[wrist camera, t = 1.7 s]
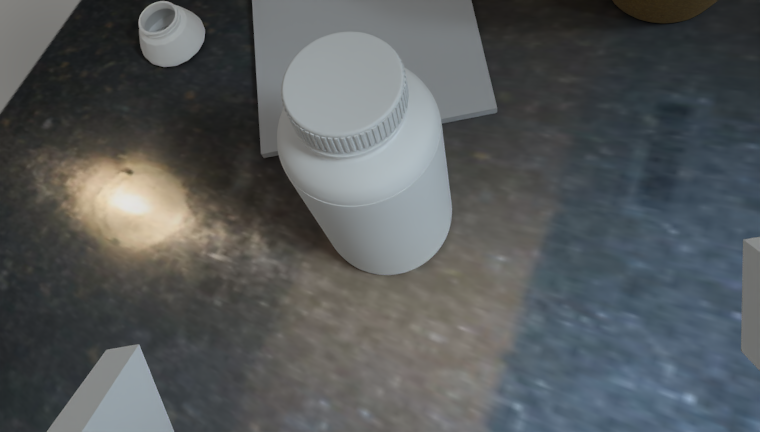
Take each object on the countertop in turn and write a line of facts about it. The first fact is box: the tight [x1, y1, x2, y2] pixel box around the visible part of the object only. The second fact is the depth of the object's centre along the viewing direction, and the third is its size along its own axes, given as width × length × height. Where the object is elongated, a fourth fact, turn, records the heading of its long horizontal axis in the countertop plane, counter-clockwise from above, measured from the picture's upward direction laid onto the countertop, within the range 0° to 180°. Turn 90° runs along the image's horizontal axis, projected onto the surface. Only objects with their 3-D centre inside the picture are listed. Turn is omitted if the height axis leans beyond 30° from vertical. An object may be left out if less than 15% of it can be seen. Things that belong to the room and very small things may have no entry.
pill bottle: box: [277, 31, 452, 275], centre depth 32 cm, size 8×8×15 cm
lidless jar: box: [138, 1, 205, 67], centre depth 46 cm, size 5×3×5 cm
